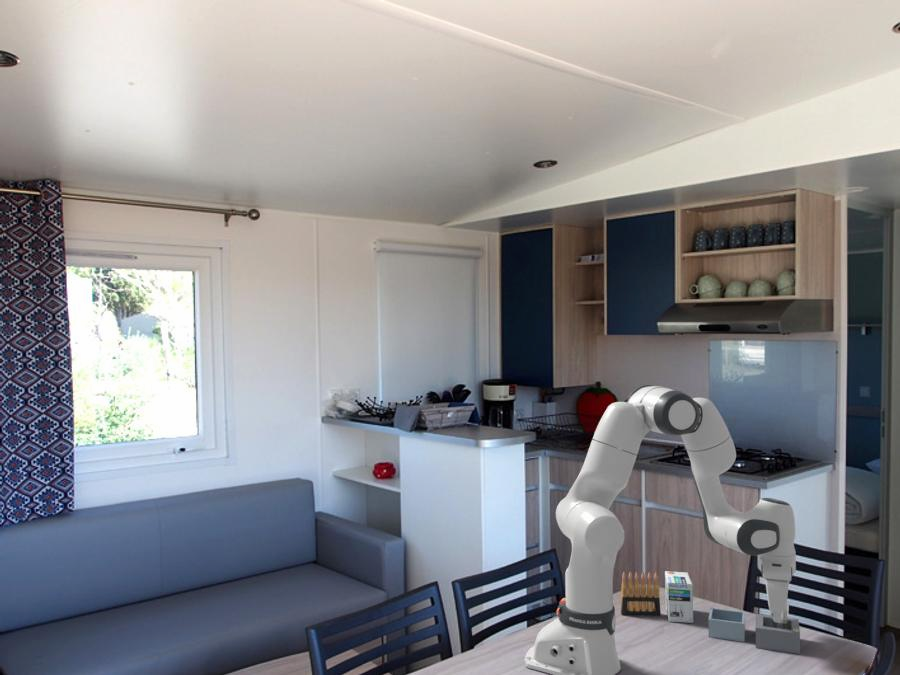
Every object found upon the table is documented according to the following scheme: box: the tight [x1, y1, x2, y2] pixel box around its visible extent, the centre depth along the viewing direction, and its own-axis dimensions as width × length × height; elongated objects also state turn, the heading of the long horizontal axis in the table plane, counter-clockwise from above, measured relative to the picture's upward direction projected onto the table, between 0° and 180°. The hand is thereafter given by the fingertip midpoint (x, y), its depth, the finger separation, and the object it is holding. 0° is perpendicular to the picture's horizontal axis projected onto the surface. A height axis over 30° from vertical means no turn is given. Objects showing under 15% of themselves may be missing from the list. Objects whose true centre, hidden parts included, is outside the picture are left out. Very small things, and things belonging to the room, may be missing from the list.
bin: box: [707, 607, 746, 643], centre depth 192 cm, size 9×9×5 cm
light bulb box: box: [664, 570, 694, 624], centre depth 204 cm, size 11×7×11 cm, turn 168°
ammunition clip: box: [620, 571, 662, 617], centre depth 205 cm, size 11×2×12 cm, turn 84°
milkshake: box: [766, 595, 790, 629], centre depth 185 cm, size 4×5×10 cm
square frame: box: [755, 613, 801, 655], centre depth 185 cm, size 10×10×6 cm
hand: (777, 617), depth 185 cm, fingers closed on milkshake, 4 cm apart
